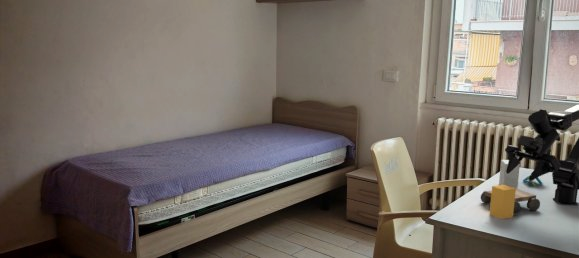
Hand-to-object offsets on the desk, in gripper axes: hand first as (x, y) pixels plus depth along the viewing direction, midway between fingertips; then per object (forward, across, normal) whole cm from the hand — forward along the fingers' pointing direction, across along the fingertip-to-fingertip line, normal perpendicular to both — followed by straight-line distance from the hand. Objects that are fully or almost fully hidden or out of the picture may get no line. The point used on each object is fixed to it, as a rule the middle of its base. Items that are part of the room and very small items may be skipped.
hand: (517, 176), depth 171 cm
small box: (-8, -24, +27) cm, 37 cm away
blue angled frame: (-18, -24, +38) cm, 48 cm away
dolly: (+7, -6, +12) cm, 15 cm away
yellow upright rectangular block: (+14, 0, +5) cm, 15 cm away
